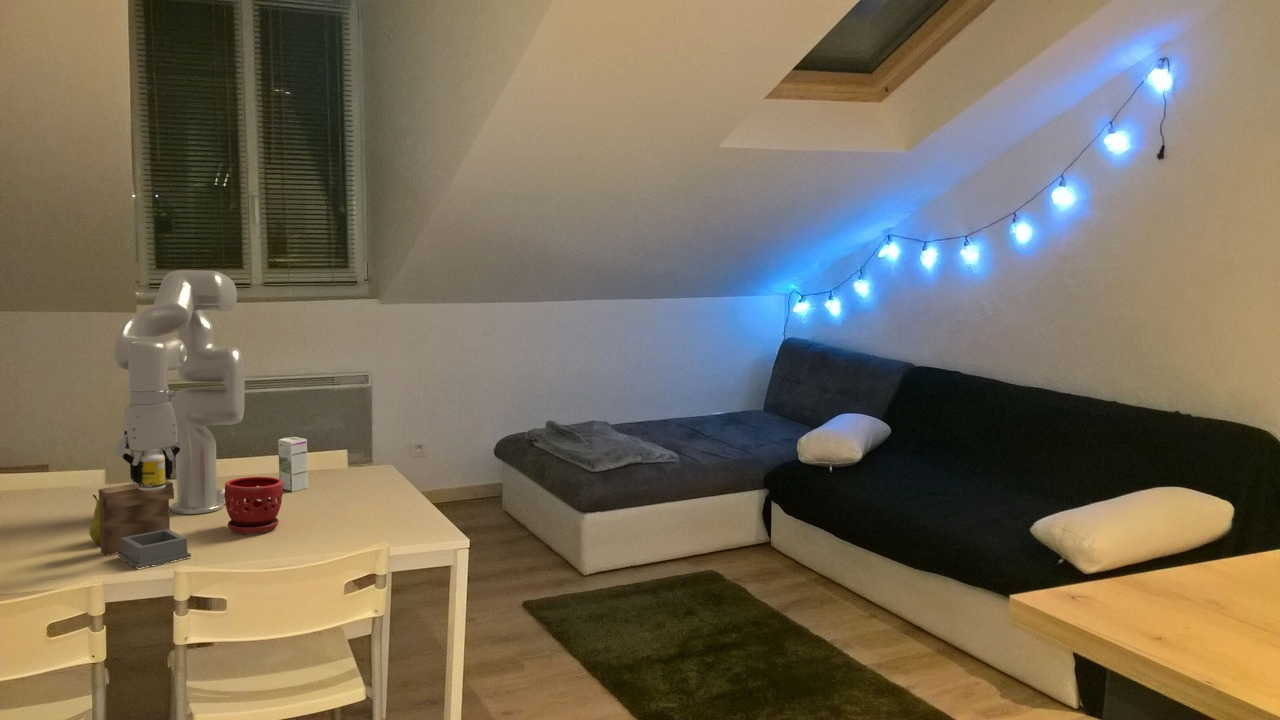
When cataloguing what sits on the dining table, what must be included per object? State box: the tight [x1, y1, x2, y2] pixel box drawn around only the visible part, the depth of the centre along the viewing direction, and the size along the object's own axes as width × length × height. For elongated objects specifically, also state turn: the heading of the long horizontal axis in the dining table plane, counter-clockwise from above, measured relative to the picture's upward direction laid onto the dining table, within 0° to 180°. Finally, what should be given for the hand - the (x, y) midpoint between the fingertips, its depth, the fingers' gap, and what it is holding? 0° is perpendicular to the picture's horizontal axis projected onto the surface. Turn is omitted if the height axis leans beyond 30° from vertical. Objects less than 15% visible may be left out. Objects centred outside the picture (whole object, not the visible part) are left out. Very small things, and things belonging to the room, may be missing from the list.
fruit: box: [88, 494, 101, 545], centre depth 223 cm, size 6×6×12 cm
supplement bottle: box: [138, 448, 167, 491], centre depth 212 cm, size 5×5×10 cm
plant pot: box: [224, 476, 284, 535], centre depth 237 cm, size 13×13×12 cm
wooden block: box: [98, 479, 175, 556], centre depth 220 cm, size 14×5×15 cm, turn 138°
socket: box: [117, 529, 192, 568], centre depth 214 cm, size 11×11×4 cm
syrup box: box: [277, 436, 309, 493], centre depth 275 cm, size 6×6×14 cm
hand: (151, 479), depth 212 cm, fingers closed on supplement bottle, 5 cm apart
